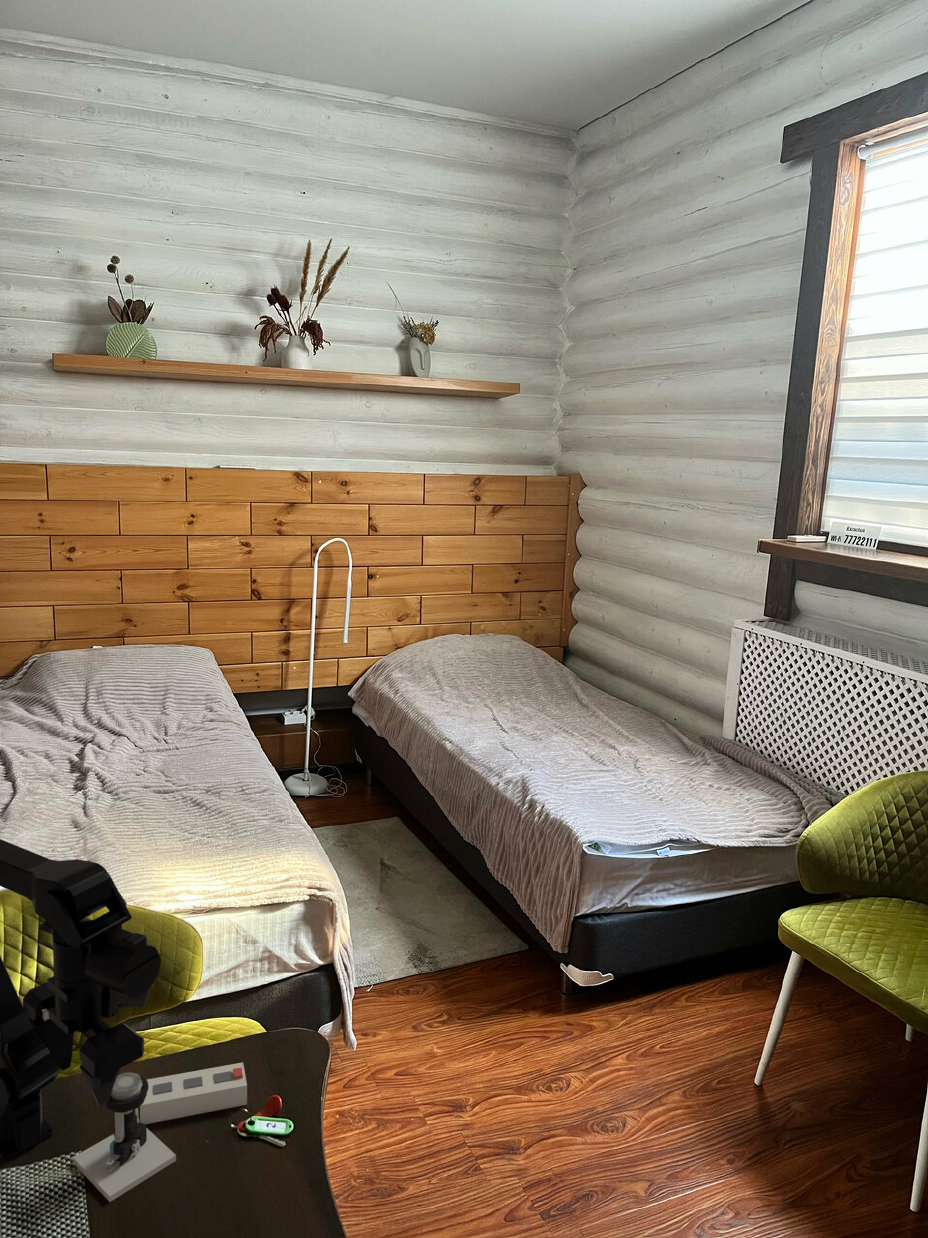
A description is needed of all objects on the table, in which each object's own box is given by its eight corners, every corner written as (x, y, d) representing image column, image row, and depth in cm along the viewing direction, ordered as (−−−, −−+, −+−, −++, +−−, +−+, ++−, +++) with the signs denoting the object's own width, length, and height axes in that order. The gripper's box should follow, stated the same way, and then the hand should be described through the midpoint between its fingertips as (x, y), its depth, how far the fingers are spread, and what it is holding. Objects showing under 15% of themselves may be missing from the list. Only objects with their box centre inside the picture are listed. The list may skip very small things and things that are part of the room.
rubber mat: (73, 1163, 116) (72, 1157, 116) (138, 1125, 123) (138, 1120, 122) (109, 1202, 110) (109, 1196, 110) (176, 1160, 117) (176, 1155, 117)
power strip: (140, 1125, 123) (139, 1102, 122) (139, 1100, 127) (139, 1078, 127) (247, 1104, 127) (247, 1082, 127) (243, 1081, 132) (243, 1059, 131)
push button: (126, 1180, 112) (124, 1108, 111) (89, 1169, 114) (86, 1098, 112) (158, 1142, 119) (156, 1073, 117) (122, 1132, 120) (120, 1064, 118)
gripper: (183, 973, 110) (184, 1089, 113) (103, 917, 122) (106, 1024, 124) (94, 1013, 101) (98, 1138, 104) (18, 950, 113) (23, 1063, 116)
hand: (84, 1085), depth 112 cm, fingers open, 9 cm apart
